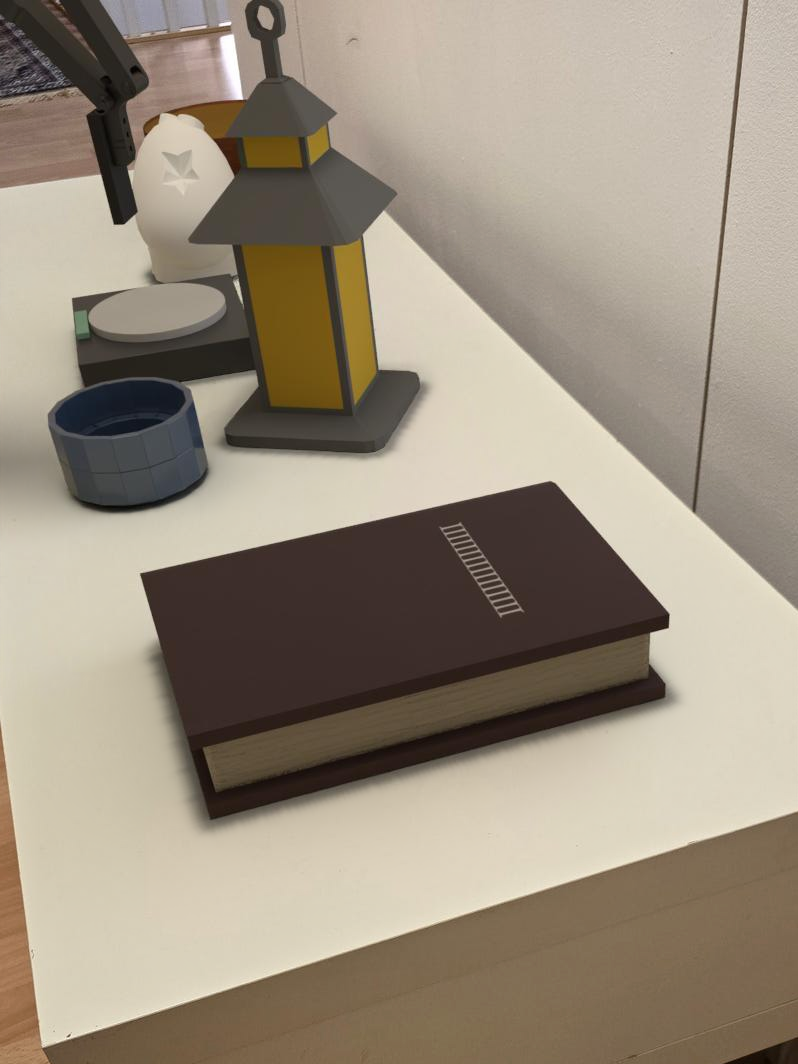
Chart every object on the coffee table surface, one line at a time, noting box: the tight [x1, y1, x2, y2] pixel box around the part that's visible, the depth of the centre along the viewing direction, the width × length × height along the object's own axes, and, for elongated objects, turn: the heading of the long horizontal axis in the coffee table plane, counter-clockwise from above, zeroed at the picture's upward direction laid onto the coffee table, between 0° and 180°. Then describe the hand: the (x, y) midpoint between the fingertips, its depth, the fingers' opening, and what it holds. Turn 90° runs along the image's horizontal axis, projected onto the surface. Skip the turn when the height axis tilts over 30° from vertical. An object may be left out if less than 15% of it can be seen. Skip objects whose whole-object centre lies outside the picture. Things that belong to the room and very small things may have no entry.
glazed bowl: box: [46, 377, 209, 507], centre depth 97 cm, size 11×11×6 cm
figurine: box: [132, 112, 238, 284], centre depth 128 cm, size 11×11×15 cm
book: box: [139, 480, 671, 820], centre depth 76 cm, size 28×20×6 cm
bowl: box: [142, 99, 248, 177], centre depth 146 cm, size 18×18×10 cm
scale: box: [71, 274, 255, 388], centre depth 118 cm, size 16×18×4 cm
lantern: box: [188, 0, 421, 453], centre depth 96 cm, size 14×14×30 cm
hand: (33, 221), depth 84 cm, fingers open, 13 cm apart
